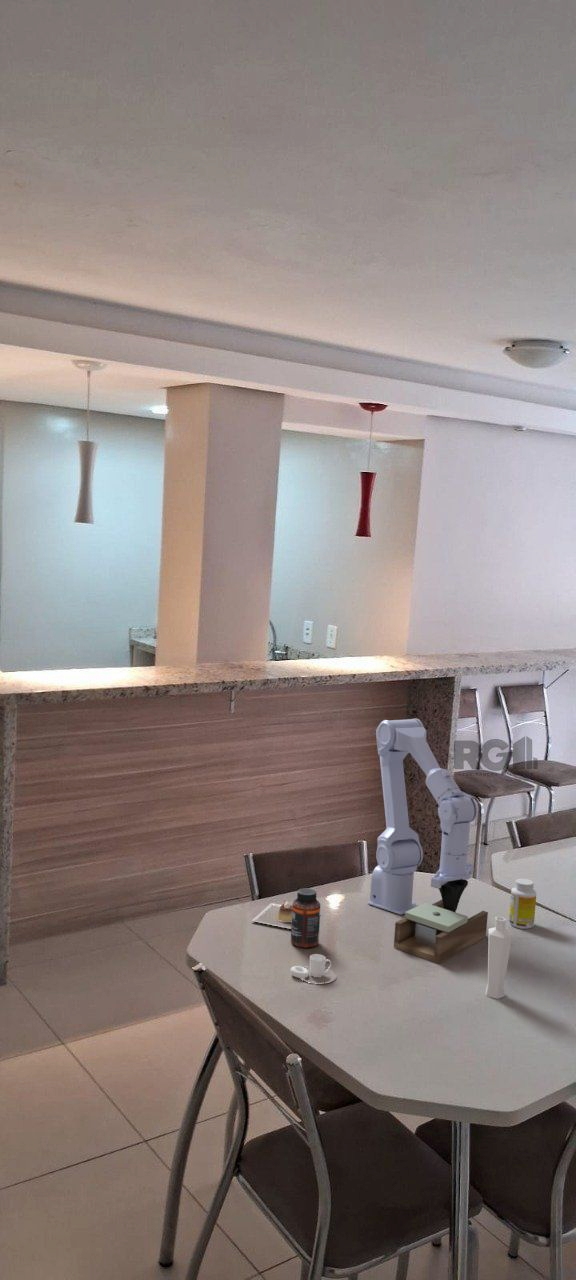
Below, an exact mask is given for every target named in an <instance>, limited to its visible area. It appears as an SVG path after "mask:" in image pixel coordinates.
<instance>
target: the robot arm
mask: <svg viewBox="0 0 576 1280" xmlns="http://www.w3.org/2000/svg"><path fill="white" fill-rule="evenodd" d="M375 737H376V747H377V748H376V749H377V754H378V756H379V763H380V764H379V765H380V773H381V785H382V795H383V804H384V806H383V807H384V814H385V825H386V826H385V827H386V829H385V830H384V831H383V832H381V834H380V835H378V837H377V839H376V840H377V847H376V848H377V849H376V853H375V859H376V861H377V865H376V866H375V868H374V869H373V871H372V873H371V874H372V875H371V877H370V893H369V896H370V897H369V901H367V904H368V905H370V906H372V907H376V908H379V909H382V910H385V911H388V912H392V913H395V914H397V915H401V916H402V915H405V912H406V911H408V910H411V909H413V908H415V907H417V906H419V905H420V904H419V903H416V902H414V901H413V893H414V891H413V890H414V879H415V878H414V875H415V872H416V871H418V867H419V866H420V865H421V864H422V861H423V858H424V852H423V848H422V845H421V844H420V837H419V834H418V833H417V832H416V831H414V830H413V829H412V828H411V827H410V822H409V812H408V811H409V810H408V809H409V808H408V801H407V790H406V789H407V788H406V781H405V780H406V779H405V772H404V771H405V770H404V759H405V758H406V756H407V755H409V754H410V755H411V756H412V758H413V759H414V760H415V762H416V763H417V765H418V766H419V767H420V769H421V770H422V771H423V773H424V774H425V775H426V778H425V785H426V786H427V788H428V790H429V791H430V794H431V795H432V796H433V798H434V799H435V801H436V803H437V805H438V807H437V815H438V817H439V820H440V830H441V831H442V833H441V845H440V847H441V848H440V857H439V859H440V860H439V869H438V870H436V872H435V875H433V877H431V879H430V887H431V888H434V889H438V891H439V893H440V897H441V900H442V901H443V907H444V909H446V910H450V911H453V912H456V913H457V909H458V906H459V903H460V900H461V897H462V895H463V893H464V891H465V889H466V888H467V887H468V883H469V879H471V878H472V877H471V876H472V875H471V874H473V873H474V864H472V863H468V856H469V840H470V830H471V829H470V827H471V822H473V821H474V820H475V819H476V817H477V814H478V807H477V804H476V802H475V800H474V797H473V796H471V795H469V794H467V793H466V792H465V791H461V789H460V786H459V785H458V784H457V783H456V781H455V779H454V778H453V776H452V774H451V772H450V771H449V770H448V769H446V768H441V767H440V765H439V763H438V761H437V759H436V757H435V756H434V754H433V751H432V750H431V747H430V746H429V743H428V742H427V730H426V728H425V727H424V724H423V722H422V721H421V720H420V719H419V718H415V717H414V718H411V719H393V720H392V719H391V720H388V719H383V720H382V721H380V723H379V725H378V726H377V728H376V730H375Z"/></svg>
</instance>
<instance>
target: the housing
mask: <svg viewBox="0 0 576 1280" xmlns="http://www.w3.org/2000/svg"><path fill="white" fill-rule="evenodd" d="M431 905H434V906H437V907H440V908H443V909H444V907H443V901H442V899H440V900H438V901H436V902H434V903H432V904H431ZM488 913H489V912H488V911H485V910H482V911H480V912H478V913H476V914H473V915H472V916H470V917H469V918H468V920H467V923H465V924H463V925H461V926H460V927H458V928H456V929H454V930H452V931H450V932H445V931H444V932H442V933H441V934H439V935H437V936H436V939H435V948H432V947H429V946H427V945H424V944H421V943H418V942H415V927H416V923H417V922H415V921H412V920H409V919H406V918H405V917H403V918H401V919H399V920H397V921H395V924H394V939H393V940H394V941H393V948H395V949H397V950H399V951H402V952H405V953H409V954H411V955H414V956H416V957H418V958H419V957H420V958H421V959H425V960H426V961H430V962H433V963H436V964H438V965H439V964H441V963H442V962H444V961H446V960H448V959H450V958H451V957H453V956H454V955H457V954H458V953H459V952H461V951H463V950H465V949H467V948H469V947H470V946H472V945H473V944H475V943H478V942H479V941H480V940H482V939H484V938H486V937H487V930H488V929H487V928H488V915H489V914H488Z"/></svg>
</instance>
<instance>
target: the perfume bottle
mask: <svg viewBox="0 0 576 1280" xmlns="http://www.w3.org/2000/svg"><path fill="white" fill-rule="evenodd" d="M494 918H495V926H494V927H493V926H492V927H490V928H488V935H487V936H488V938H487V939H488V944H487V945H488V946H487V948H488V950H487V951H488V953H487V985H486V988H485V990H484V992H485V996H486V997H489V998H492V999H496V1000H500V999H501V998H504V997H505V996H506V993H505V984H506V983H505V982H506V977H507V976H506V975H507V970H508V964H509V957H510V952H511V951H510V950H511V946H512V938H513V933H511V932H510V931H508V929H506V923H507V918H505V917H503V916H495V917H494Z"/></svg>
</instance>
